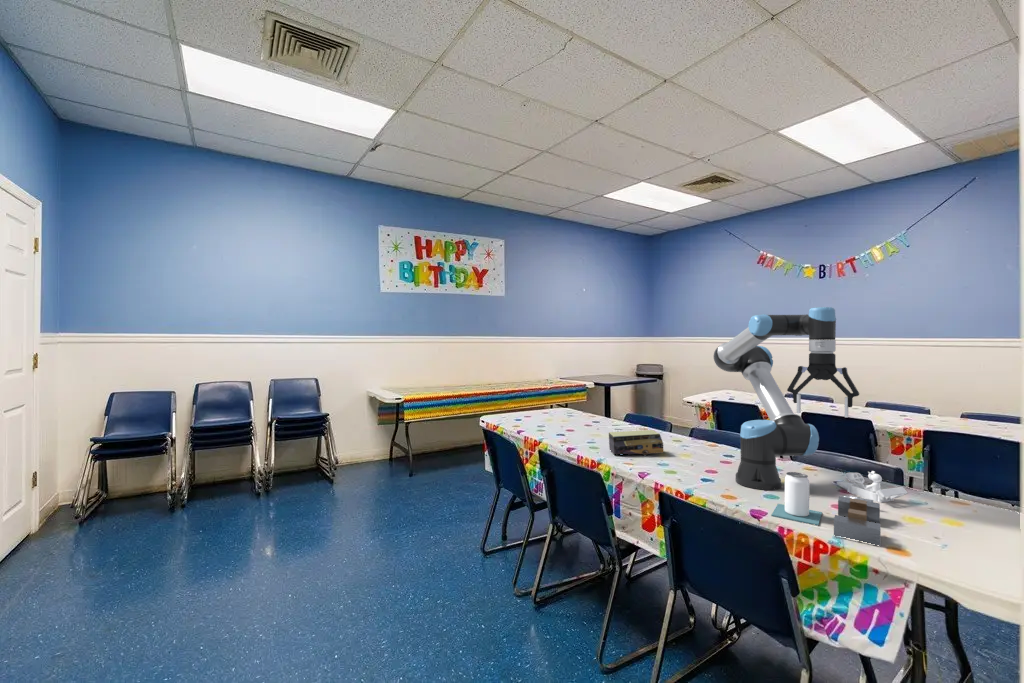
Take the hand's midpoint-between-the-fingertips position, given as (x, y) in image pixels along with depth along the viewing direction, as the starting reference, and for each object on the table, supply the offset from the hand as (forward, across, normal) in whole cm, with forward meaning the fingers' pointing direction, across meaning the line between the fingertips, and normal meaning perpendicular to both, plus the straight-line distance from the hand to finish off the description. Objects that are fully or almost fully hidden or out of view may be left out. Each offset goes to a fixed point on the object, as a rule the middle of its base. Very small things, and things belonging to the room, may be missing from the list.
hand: (821, 414), depth 156 cm
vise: (+28, +11, -18) cm, 35 cm away
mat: (+28, -4, -23) cm, 37 cm away
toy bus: (+29, -76, +15) cm, 82 cm away
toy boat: (+29, +11, +13) cm, 34 cm away
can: (+28, -4, -23) cm, 36 cm away
